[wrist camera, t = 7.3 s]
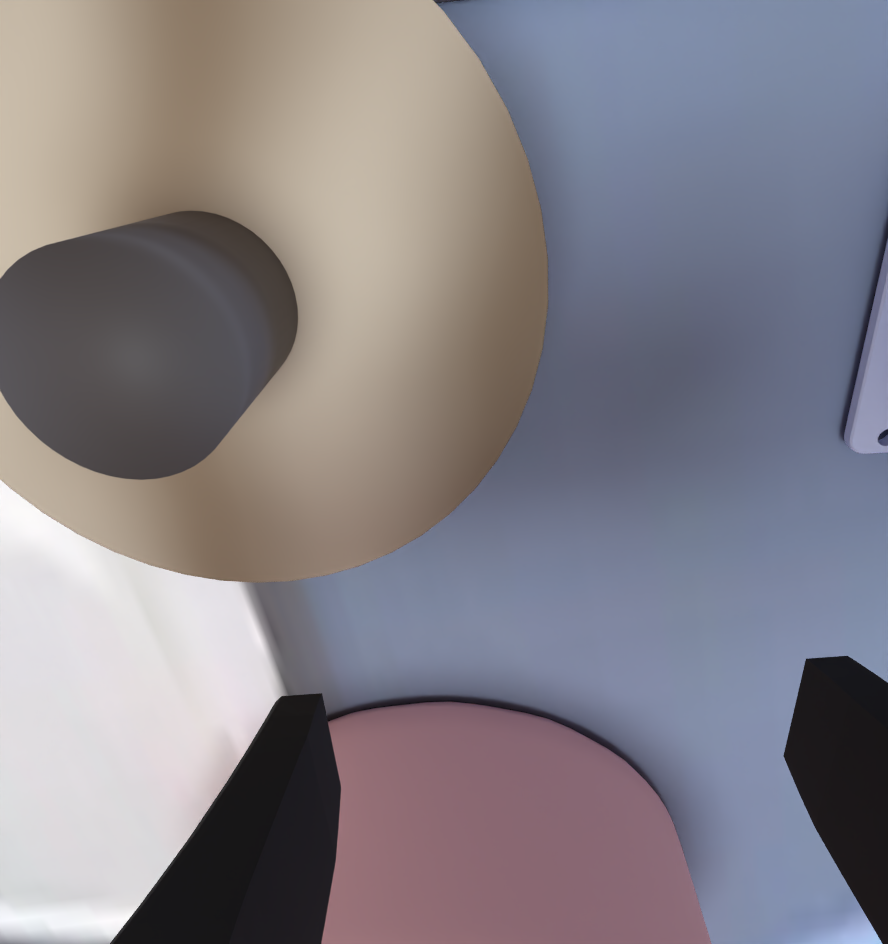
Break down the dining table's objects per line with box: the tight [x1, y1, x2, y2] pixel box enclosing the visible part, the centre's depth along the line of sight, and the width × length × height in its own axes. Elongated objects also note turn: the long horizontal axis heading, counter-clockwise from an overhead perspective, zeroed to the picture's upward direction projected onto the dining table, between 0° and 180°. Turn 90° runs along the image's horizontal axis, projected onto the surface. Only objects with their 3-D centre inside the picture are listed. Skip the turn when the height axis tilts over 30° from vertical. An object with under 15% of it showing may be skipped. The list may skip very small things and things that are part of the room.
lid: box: [0, 0, 548, 582], centre depth 10 cm, size 12×12×4 cm
